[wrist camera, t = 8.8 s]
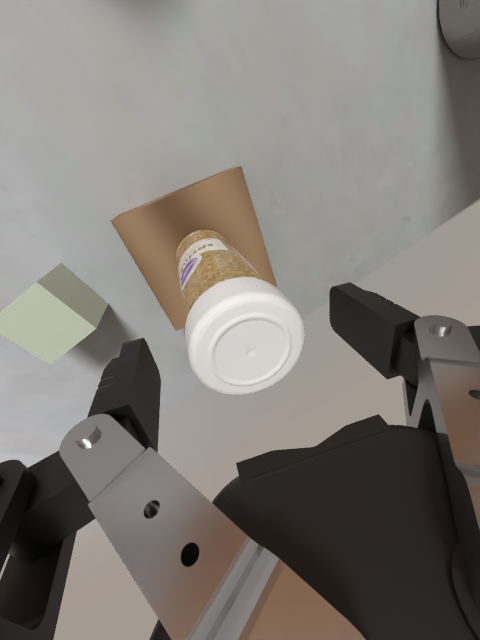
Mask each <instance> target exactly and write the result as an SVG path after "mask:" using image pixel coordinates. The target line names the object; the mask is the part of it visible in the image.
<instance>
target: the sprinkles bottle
mask: <svg viewBox="0 0 480 640" xmlns="http://www.w3.org/2000/svg"><path fill="white" fill-rule="evenodd" d="M176 262H177V267H178V270H179V280H180V286H181V292H182V295H183V298H184V305H185V311H186V317H187V320H186V325H185V339H186V348H187V354H188V359H189V363H190V366H191V368H192V371H193V372H194V374H195V375H196V377H197V378H198V379H199V380H200V381H201V382H202V383H203V384H204V385H206V386H207V387H209V388H210V389H212V390H215V391H217V392H220V393H223V394H229V395H246V394H251V393H256V392H259V391H262V390H264V389H267V388H269V387H271V386H272V385H274V384H276V383H277V382H279V381H280V380H281V379H282V378H284V377H285V376H286V375H287V374H288V373H289V372H290V370H292V368H293V367H294V366H295V364H296V363H297V361H298V359H299V357H300V355H301V353H302V350H303V347H304V342H305V328H304V324H303V321H302V318H301V316H300V314H299V312H298V311H297V309H296V308H295V307H294V306H293V305H292V303H291V302H290V301H289V300H288V299H287V298H286V297H285V296H284V295H283V294H282V293H281V292H280V291H279V290H278V289H277V288H276V287H274V286H273V285H272V284H270V283H268V282H266V281H263V280H262V279H261V277H260V276H259V274H258V273H257V271H256V270H255V269H254V268H253V267H252V266H251V265H250V264H249V263H248V262H247V261H246V260H245V259H244V258H243V257H242V256H241V255H240V254H239V253H238V252H237V251H236V250H235V249H234V248H233V247H232V246H230V245H229V244H228V242H227V240H226V239H225V238H224V237H223V236H221V235H220V234H219V233H217V232H214V231H211V230H198V231H195V232H192V233H191V234H189V235H187V236H186V237H185V238H184V239H183V240H182V241H181V243H180V245H179V246H178V249H177V253H176Z"/></svg>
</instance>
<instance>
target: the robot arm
mask: <svg viewBox="0 0 480 640" xmlns="http://www.w3.org/2000/svg"><path fill="white" fill-rule="evenodd" d="M439 18H440V24H441V29H442V33H443V36H444V38H445V40H446V43H447V45H448V46H449V47H450V49H451V50H452V51H453V52H454V53H455V54H457V55H458V56H460V57H463V58H468V59H472V58H478V57H480V0H439ZM330 323H331V326H332V328H333V330H334V331H335V332H336V333H337V334H338V335H339V336H340V337H341V338H342V339H343V340H345V341H346V342H347V343H348V344H349V345H350V346H351V347H352V348H353V349H354V350H355V351H357V352H358V353H359V354H360V355H361V356H362V357H363V358H364V359H366V361H368V362H369V363H370V364H371V365H372V366H373V367H374V368H375V369H376V370H377V371H379V372H380V373H381V374H382V375H383V376H384V377H385V378H386V379H390V378H393V377H396V376H400V375H401V376H402V377H403V384H402V386H403V395H404V405H405V414H406V423H407V426H403V425H388V424H387V423H386V422H385V421H384V420H383V419H382V418H381V416H380V415H375V416H372V417H369V418H367V419H364V420H361V421H358V422H355V423H352V424H349V425H346V426H344V427H343V428H341V429H340V430H339V431H337V432H336V433H334V434H333V435H332V436H330V437H329V438H327V439H326V440H324V441H323V442H322V443H320V444H319V445H317V446H315V447H311V448H298V449H286V450H274V451H270V452H267V453H264V454H262V455H259V456H256V457H253V458H250V459H247V460H244V461H241V462H239V463H236V464H237V469H238V473H239V476H238V477H237V478H235V479H234V480H232V481H231V482H230V483H229V484H228V485H227V486H225V487H224V488H223V489H222V491H221V492H220V493H219V494H218V495H217V496H216V497H215V499H214V500H213V502H212V503H211V502H210V501H209V500H208V499H207V498H206V497H205V496H204V495H203V494H201V492H199V491H198V490H197V489H196V488H195V487H194V486H193V485H192V484H191V483H190V482H188V481H187V480H186V479H185V478H184V477H183V476H182V475H181V474H180V473H178V472H177V470H175V469H174V468H173V467H172V466H171V465H170V464H169V463H168V462H167V461H166V460H164V459H163V458H162V457H161V456H160V455H159V454H158V453H157V450H158V429H159V408H160V388H161V379H160V374H159V370H158V368H157V365H156V363H155V361H154V358H153V356H152V354H151V352H150V349H149V347H148V345H147V343H146V341H145V339H144V338H141V339H137V340H134V341H130V342H126V343H124V344H123V346H122V349H121V352H120V356H119V358H115V359H112V361H111V362H110V363H109V364H108V365H107V366H106V368H105V369H104V371H103V374H102V377H101V381H100V383H99V385H98V389H97V391H96V394H95V397H94V400H93V402H92V405H91V408H90V411H89V414H88V417H87V418H86V419H84V420H83V421H81V422H80V423H78V424H77V425H76V426H74V427H73V428H72V429H71V430H70V431H69V432H68V433H67V434H66V436H65V437H64V439H63V440H62V442H61V445H60V448H59V451H57V452H56V453H54V454H52V455H50V456H48V457H47V458H45V459H43V460H41V461H39V462H38V463H36V464H34V465H32V466H30V467H28V468H27V467H26V466H25V465H24V464H23V463H21V462H20V461H18V460H8V461H5V462H2V463H0V572H1V570H2V567H3V565H4V562H5V560H6V557H7V555H8V554H10V557H9V559H8V562H7V564H6V567H5V570H4V572H3V575H2V577H1V580H0V640H53V638H54V633H55V628H56V624H57V620H58V615H59V610H60V605H61V601H62V597H63V592H64V588H65V583H66V578H67V573H68V569H69V565H70V560H71V555H72V551H73V546H74V542H75V537H76V532H77V531H78V530H79V529H81V528H82V527H84V526H85V525H87V524H88V523H89V522H91V521H92V520H94V519H95V518H96V519H97V521H98V523H99V524H100V526H101V527H102V529H103V531H104V532H105V534H106V535H107V537H108V538H109V540H110V542H111V543H112V545H113V546H114V548H115V550H116V551H117V553H118V555H119V556H120V558H121V559H122V561H123V563H124V564H125V566H126V567H127V569H128V571H129V572H130V574H131V575H132V577H133V579H134V580H135V582H136V583H137V585H138V587H139V588H140V590H141V591H142V593H143V595H144V596H145V598H146V599H147V601H148V603H149V604H150V606H151V607H152V609H153V611H154V612H155V614H156V615H157V617H158V621H157V624H156V626H155V628H154V630H153V633H152V635H151V637H150V640H480V326H470V327H469V326H468V327H467V326H466V325H465V324H463V323H462V322H460V321H458V320H456V319H453V318H449V317H445V316H436V315H435V316H432V315H431V316H424V317H419V316H417V315H416V314H414V313H412V312H410V311H408V310H406V309H404V308H403V307H401V306H399V305H397V304H394V303H393V302H392V301H390V300H388V299H387V300H386V298H384V297H382V296H380V295H378V294H377V293H373V292H370V291H365V290H363V289H361V288H359V287H357V286H356V285H354V284H352V283H345V284H341V285H337V286H334V287H332V288H331V289H330Z"/></svg>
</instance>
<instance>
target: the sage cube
mask: <svg viewBox="0 0 480 640" xmlns="http://www.w3.org/2000/svg"><path fill="white" fill-rule="evenodd" d="M108 304H109V303H107V302H106V301H105V300H104V299H103V298H102V297H100V296H99V295H98V294H97V293H96V292H95V291H93V290H92V289H91V288H90V287H89V286H88V285H86V284H85V283H84V282H83V281H82V280H81V279H79V278H78V277H77V276H76V275H75V274H74V273H73V272H71V271H70V270H69V269H68V268H67V267H66V266H64V265H63V264H62V263H61V264H59V265H58V266H57V267H55V268H54V269H53V270H52V271H50V272H49V273H48V274H46V275H45V276H44V277H42V278H41V279H40V280H38V281H37V282H36V283H35V284H34V285H32V286H31V287H30V288H29V289H28V290H26V291H25V292H24V293H23V294H22V295H20V296H19V297H18V298H17V299H16V300H14V301H13V302H12V303H11V304H10V305H8V306H7V307H6V308H5V309H4V310H2V311H1V312H0V334H1V335H3V336H4V337H6V338H8V339H9V340H11V341H12V342H14V343H16V344H17V345H19V346H20V347H22V348H24V349H25V350H27V351H28V352H30V353H32V354H33V355H35V356H37V357H38V358H40V359H41V360H43V361H45V362H46V363H48V364H49V365H51V364H52V363H54V362H55V361H56V360H57V359H59V358H60V357H61V356H62V355H64V354H65V353H66V352H67V351H69V350H70V349H71V348H73V347H74V346H75V345H76V344H78V343H79V342H80V341H81V340H83V339H84V338H85V337H86V336H88V335H89V334H90V333H92V332H93V331H94V330H95V329H97V327H98V324H99V322H100V320H101V318H102V316H103V314H104V312H105V310H106V308H107V306H108Z"/></svg>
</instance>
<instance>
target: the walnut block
mask: <svg viewBox="0 0 480 640" xmlns="http://www.w3.org/2000/svg"><path fill="white" fill-rule="evenodd" d="M111 222H112V224H113V226H114V227H115V229H116V231H117V232H118V234H119V236H120V237H121V239H122V241H123V242H124V244H125V246H126V248H127V249H128V251H129V253H130V254H131V256H132V258H133V259H134V261H135V263H136V264H137V266H138V268H139V269H140V271H141V273H142V274H143V276H144V278H145V280H146V281H147V283H148V285H149V286H150V288H151V290H152V291H153V293H154V295H155V296H156V298H157V300H158V301H159V303H160V305H161V307H162V308H163V310H164V312H165V313H166V315H167V317H168V318H169V320H170V322H171V323H172V325H173V327H174V328H175V330H176V331H177V330H179V329H181V328H183V327H185V325H186V320H187V317H186V311H185V305H184V298H183V295H182V292H181V286H180V280H179V270H178V267H177V262H176V253H177V249H178V246H179V245H180V243H181V241H182V240H183V239H184V238H185V237H186V236H187V235H189V234H191V233H192V232H195V231H198V230H211V231H214V232H217V233H219V234H220V235H221V236H223V237H224V238H225V239H226V240H227V242H228V244H229V245H230V246H232V247H233V248H234V249H235V250H236V251H237V252H238V253H239V254H240V255H241V256H242V257H243V258H244V259H245V260H246V261H247V262H248V263H249V264H250V265H251V266H252V267H253V268H254V269H255V270H256V271H257V273H258V274H259V276H260V277H261V279H262V280H263V281H266V282H268V283H270V284H272V285H273V286H274V287H276V286H277V285H276V282H275V278H274V275H273V271H272V268H271V265H270V261H269V258H268V255H267V251H266V248H265V245H264V241H263V238H262V235H261V231H260V228H259V225H258V221H257V218H256V215H255V211H254V208H253V204H252V201H251V198H250V194H249V191H248V188H247V184H246V181H245V178H244V174H243V171H242V168H241V166H239V167H235V168H230V169H227V170H225V171H223V172H220V173H218V174H215V175H213V176H211V177H208V178H206V179H204V180H201V181H199V182H196V183H194V184H192V185H189V186H187V187H184V188H182V189H180V190H177V191H175V192H172V193H170V194H168V195H165V196H163V197H160V198H158V199H156V200H153V201H151V202H149V203H146V204H144V205H141V206H139V207H137V208H134V209H132V210H129V211H127V212H125V213H122V214H120V215H118V216H117V217H115V218H114V219H112V220H111Z"/></svg>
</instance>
